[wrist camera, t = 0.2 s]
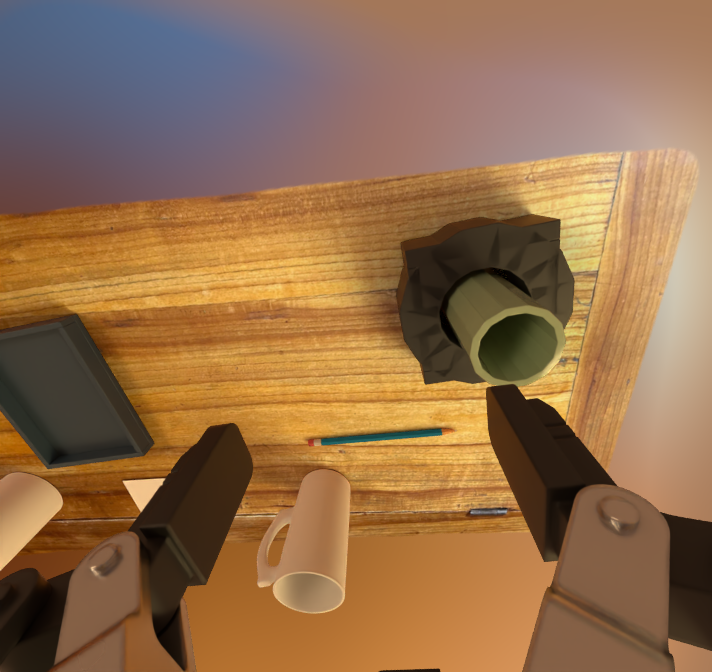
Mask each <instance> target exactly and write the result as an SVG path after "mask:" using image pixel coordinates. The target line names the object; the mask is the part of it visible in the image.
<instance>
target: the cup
mask: <svg viewBox="0 0 712 672" xmlns="http://www.w3.org/2000/svg"><path fill="white" fill-rule="evenodd" d="M441 308H442V310H443V313H444V315H445V317H446V319H447V321H448V323H449V324H450V326H451V328H452V330H453V332H454V334H455V336H456V337H457V339H458V341H459V343H460V345H461V347H462V349H463V350H464V352H465V354H466V356H467V358H468V360H469V362H470V363H471V365H472V367H473V369H474V371H475V372H476V373H477V374H478V375H479V376H480V377H481V378H483V379H484V380H485V381H486V382H487V383H489V384H493V385H497V386H500V385H507V384H515V385H516V386H517V387H518V386H525V385H529V384H531V383H533V382H535V381H537V380H538V379H540V378H542V377H544V376H546V375H547V374H548V373H549V372H550V371H551V370H552V369H553V368H554V366H555V365H556V364H557V363H558V362H559V361H560V359H561V356H562V353H563V350H564V347H565V344H566V338H565V333H564V329H563V325H562V323H561V322H560V321H559V320H558V319H557V318H556V317H555V316H554V315H553V314H552V313H551V312H550V311H549V310H547V309H546V308H545V307H543V306H542V305H541V304H539V303H538V302H536V301H535V300H534V299H532V298H531V297H529V296H528V295H527V294H525V293H524V292H522V291H521V290H520V289H518V288H517V287H515V286H514V285H513V284H511V283H510V282H508V281H507V280H506V279H504V278H503V277H502V276H500V275H499V274H497V273H496V272H495V271H493V270H492V269H489V268H486V269H480V270H475V271H472V272H470V273H468V274H467V275H465V276H463V277H462V278H460V279H458V280H457V281H456V282H455V283H454V284H453V285H452V287H451V288H450V289H449V290H448V292H447V293H446V294H445V295H444V298H443V301H442V305H441Z"/></svg>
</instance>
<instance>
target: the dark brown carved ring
mask: <svg viewBox="0 0 712 672" xmlns="http://www.w3.org/2000/svg"><path fill="white" fill-rule="evenodd" d="M401 249H402V255H403V262H404V266H403V269H402V273H401V277H400V281H399V285H398V289H397V293H396V298H397V304H398V310H399V315H400V321H401V326H402V332H403V337H404V340H405V342H406V344H407V345H408V347H409V348H410V350H411V351H412V352H413V354H414V355H415V357H416V358H417V360H418V361H419V363H420V367H421V371H422V375H423V379H424V383H425V384H433V383H439V382H446V381H453V380H455V381H460V382H466V383H471V384H473V383H474V384H475V383H482V382H486V381H485V380H484V379H483V378H481V377H480V376H479V375H478V374H477V373H476V372H475V371H474V369H473V367H472V365H471V363H470V362H469V360H468V358H467V356H466V354H465V352H464V350H463V349H462V347H461V345H460V343H459V341H458V339H457V337H456V336H455V334H454V332H453V330H452V328H450V327H449V326H447V325H446V324H444V323H443V322H441V321H440V313H439V311H440V308H441V305H442V301H443V298H444V295H445V294H446V293H447V292H448V290H449V289H450V288H451V287H452V285H453V284H454V283H455V282H456V281H457V280H458V279H460V278H462V277H463V276H465V275H467V274H468V273H470V272H472V271H475V270H480V269H486V268H491V267H493V268H498V269H503V270H504V271H505V273H506V275H507V277H508V279H509V282H510V283H511V284H513V285H514V286H515V287H517V288H518V289H520V290H521V291H522V292H524V293H525V294H527V295H528V296H529V297H531V298H532V299H534V300H535V301H536V302H538V303H539V304H541V305H542V306H543V307H545V308H546V309H547V310H549V311H550V312H551V313H552V314H553V315H554V316H555V317H556V318H557V319H558V320H559V321H560V322H561V323H562V325H563V329H565V327H566V325H567V323H568V321H569V319H570V317H571V315H572V312H573V296H574V278H573V275H572V273H571V271H570V269H569V266H568V264H567V262H566V259H565V257H564V255H563V253H562V251H561V249H560V219H555V218H550V217H545V216H539V215H534V214H531V215H526V216H521V217H517V218H512V219H507V220H502V221H499V220H494V219H489V218H484V217H478V218H473V219H468V220H464V221H459V222H454V223H450V224H447V225H446V226H444V227H443V228H441V229H440V230H438V231H437V232H435V233H434V234H432V235H431V236H426V237H422V238H417V239H412V240H407V241H403V242H401Z"/></svg>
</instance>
